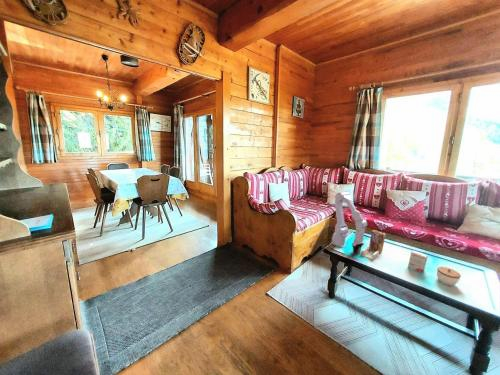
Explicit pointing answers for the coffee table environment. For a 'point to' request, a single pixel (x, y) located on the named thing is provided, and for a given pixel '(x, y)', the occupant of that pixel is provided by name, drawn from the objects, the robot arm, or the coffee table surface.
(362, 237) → the robot arm
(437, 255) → the coffee table surface
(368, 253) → the end holder
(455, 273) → the lidded jar
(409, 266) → the ink box
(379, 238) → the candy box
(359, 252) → the connector plug
